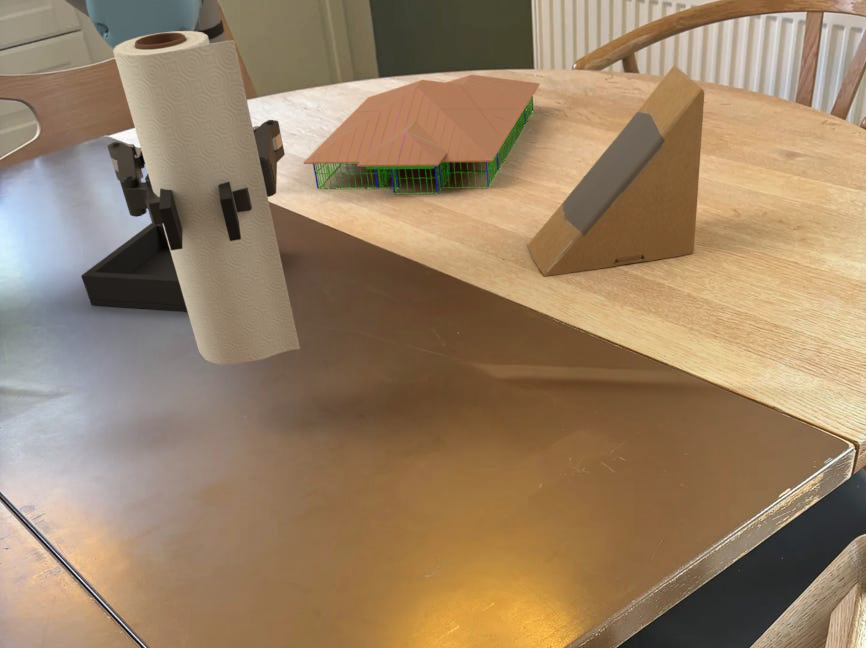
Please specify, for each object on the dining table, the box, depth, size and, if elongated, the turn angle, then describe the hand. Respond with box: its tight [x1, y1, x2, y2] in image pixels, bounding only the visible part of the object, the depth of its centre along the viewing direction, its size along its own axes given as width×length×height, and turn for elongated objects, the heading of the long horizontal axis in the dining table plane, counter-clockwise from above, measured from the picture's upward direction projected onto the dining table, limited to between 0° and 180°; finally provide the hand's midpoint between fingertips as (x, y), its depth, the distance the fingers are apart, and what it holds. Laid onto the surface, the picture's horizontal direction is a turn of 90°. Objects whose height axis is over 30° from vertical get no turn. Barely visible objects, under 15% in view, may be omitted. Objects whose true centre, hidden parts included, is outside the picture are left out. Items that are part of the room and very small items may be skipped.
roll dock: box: [80, 222, 188, 312], centre depth 104 cm, size 14×14×3 cm
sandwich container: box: [527, 64, 705, 277], centre depth 97 cm, size 9×15×15 cm, turn 100°
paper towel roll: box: [112, 31, 301, 366], centre depth 72 cm, size 7×6×21 cm
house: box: [303, 74, 540, 195], centre depth 127 cm, size 23×33×8 cm
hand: (200, 224), depth 67 cm, fingers closed on paper towel roll, 3 cm apart
